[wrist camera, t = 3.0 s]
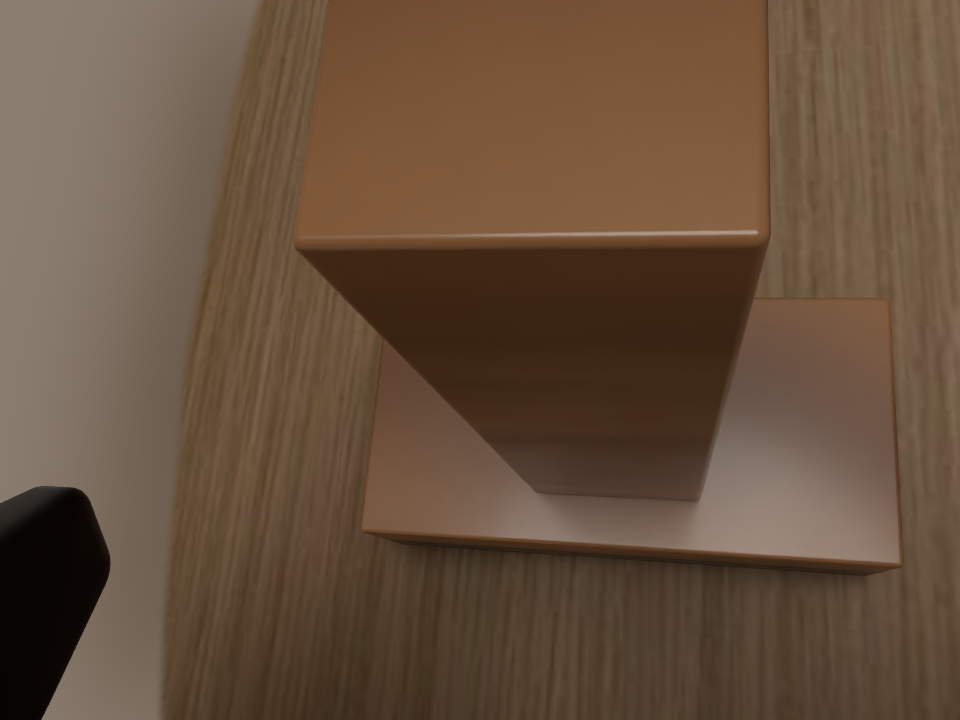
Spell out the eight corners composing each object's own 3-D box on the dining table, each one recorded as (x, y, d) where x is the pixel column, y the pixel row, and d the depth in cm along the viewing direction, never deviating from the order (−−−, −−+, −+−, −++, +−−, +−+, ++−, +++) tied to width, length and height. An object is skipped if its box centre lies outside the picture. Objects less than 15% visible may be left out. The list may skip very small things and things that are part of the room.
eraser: (870, 576, 16) (1529, 420, 4) (398, 544, 18) (-175, 370, 6) (859, 341, 17) (1333, -351, 5) (420, 335, 19) (-13, -174, 7)
